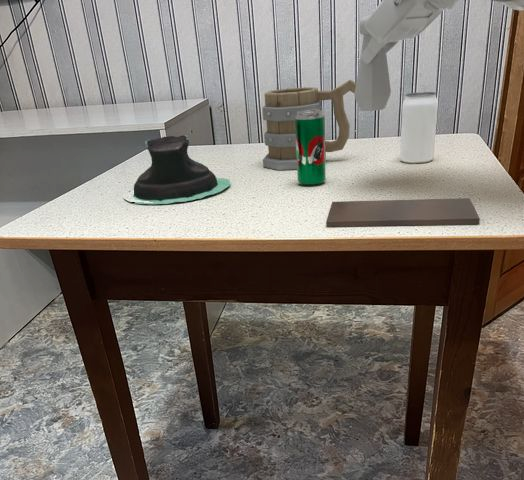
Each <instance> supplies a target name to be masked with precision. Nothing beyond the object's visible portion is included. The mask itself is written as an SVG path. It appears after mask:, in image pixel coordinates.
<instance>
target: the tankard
mask: <svg viewBox="0 0 524 480" xmlns="http://www.w3.org/2000/svg"><path fill="white" fill-rule="evenodd" d="M355 88H356V81H354V80H352V79H349V80H347V81H345V82H344V83H342V84H341V85H339V86H337V87H334V88H333V89H331V90H319V88H318V87H314V86H313V87H309V86H308V87H307V86H306V87H305V86H304V87H303V86H302V87H290V88H289V87H288V88H279V89H274V90H268V91H267V92H265V93H264V106H262V119H263V121H266V131H265V133H264V134H263V135H264V145H265V146H266V147H267V150H268V153H267V154H266V155H265V156H264V158H263V159H262V167H263V168H266V169H271V170H275V171H294V170H295V171H297V157H296V136H295V118H296V116H297V112H298V111H303V110H315V109H317V110H322V111H323V107H322V101H329V100H331V101H332V109H333V110H332V111H333V115H334V117H335V121H336V123H337V125H338V136H337V139H335V140H332V141H329V140H325V160H326V159H327V153H333V152H339V151H343V150H344V148H345V146H346V144H347V142H348V139H349V138H350V127H351V126H350V122H349V119H348V116H347V113H346V110H345V103H344V95H346V94H347V93H349V92H351V93H353V94H355Z"/></svg>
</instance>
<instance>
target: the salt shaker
mask: <svg viewBox="0 0 524 480" xmlns="http://www.w3.org/2000/svg"><path fill="white" fill-rule="evenodd" d="M369 16H370V15H367V16H363V17H362V18H361V20H360V21H359V34H360V35H362V36H363V37H362V45H361V51H360V56H359V64H358V70H357V76H356V81H355V83H356V88H355V93H353V94H354V99H355V101H356V103H357V105H358V109H359V110H360V111H361V112H374V111H375V112H376V111H382V110H384V109H386V108H387V104H388V102H389V99H390V97H391V92H392V87H391V82H390V81H391V80H390V73H389V66H388V65H389V64H388V56H387V53H386V48H385V46H383V48H382V49H381V50H380V52H379V53H378V55H377V56H376V57H375V58H374V59H373V60H372V62H371V63H369V64H366V63H365V62H364V61H363V60H362V59H361V54H362V53H363V51H364V50H365V49H366V48H367V46H368V44H369V42H370V40H371V38H372V36H371V35H370V34H369V32H368V31H367V30H366V29H365V24H366V21H367V19H368V18H369Z"/></svg>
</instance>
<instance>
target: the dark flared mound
mask: <svg viewBox="0 0 524 480" xmlns="http://www.w3.org/2000/svg"><path fill="white" fill-rule="evenodd" d="M144 144H145V146H146V149H147V151H148V153H149V156H150V158H151V159H150V160H151V165H150V166H149V167H148V168H147V169H146V170H144V171H143V172H142V173H141V174H140V175H139V176H138V177H137V179H136V181H135V183H134V184H133V189H134V195H133V196H132V197H133V198H134V199H135V200H141V201H149V202H153V203H144V202H135V203H134V204H139V205H161V204H162V205H167V204H173V203H181V202H183V203H185V202H188V201H194V200H199V199H202V198H205V197H207V196H211V195H215V194H218V193H220V192H223V191H224V190H226V189H227V188H228V187H230V185H231V181H230V179H228V178H225V177H217V176H216V175H215V174H214V172H212V171H211V170H210V169H209V167H208V166H207V165H204V164H203V163H201V162H199V161H196V160H194V159H193V158H191V157H190V156H189V154H188V153H189V152H188V149H189V145H190V140H189V135H187V134H185V135H179V136H174V135H169V136H163V137H160V138H156V139H147V140H146V141H144Z"/></svg>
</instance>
